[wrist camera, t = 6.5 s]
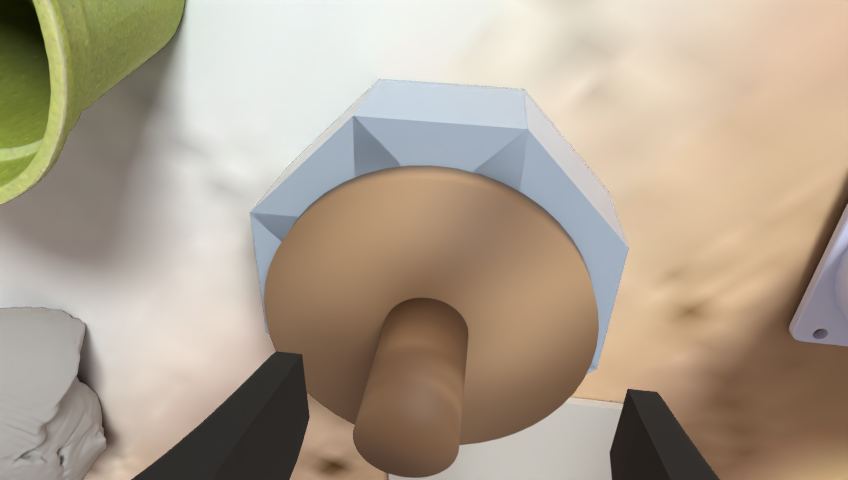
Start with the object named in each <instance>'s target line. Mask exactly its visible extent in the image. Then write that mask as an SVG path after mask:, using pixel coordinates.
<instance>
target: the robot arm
mask: <svg viewBox="0 0 848 480" xmlns="http://www.w3.org/2000/svg"><path fill="white" fill-rule="evenodd" d="M818 329H821V331H819V332H815V331H816V330H818ZM789 331H790V333H791V335H792V336H793V338H794V339H796V340H798V341H801V342H811V343H820V344H830V345H839V346H848V203H847V206H846V208H845V210H844V212H843V214H842V216H841V218H840V220H839V222H838V224H837V227H836V229H835V231H834V233H833V235H832V237H831V239H830V241H829V243H828V246H827V248H826V250H825V252H824V254H823V256H822V258H821V260H820V262H819V265H818V267H817V269H816V271H815V273H814V275H813V277H812V279H811V281H810V283H809V286H808V288H807V290H806V292H805V294H804V296H803V298H802V300H801V302H800V305H799V307H798V309H797V311H796V313H795V315H794V317H793V319H792V321H791V323H790V326H789ZM814 332H815V333H814ZM308 421H309V409H308V400H307V391H306V383H305V374H304V366H303V357H302V354H296V353H287V352H278V351H276V352H275V353H274V354H272V355H271V356H270V357H269V358H268V359H267V360H266V361H265V362H264V363H263V364H262V365H261V366H260V367H259V368H258V369H257V370H256V371H255V372H254V373H253V374H252V375H251V376H250V377H249V378H248V379H247V380H246V381H245V382H244V383H243V384H242V385H241V386H240V387H239V388H238V389H237V390H236V391H235V392H234V393H233V394H232V395H231V396H230V397H229V398H228V399H227V400H226V401H225V402H224V403H222V404H221V405H220V406H219V407H218V408H217V409H216V410H215V411H214V412H213V413H212V414H211V415H210V416H209V417H208V418H206V419H205V420H204V421H203V422H202V423H201V424H200V425H199V426H197V427H196V428H195V429H194V430H193V431H192V432H190V433H189V434H188V435H187V436H186V437H185V438H183V439H182V440H181V441H180V442H179V443H178V444H176V445H175V446H174V447H173V448H172V449H170V450H169V451H168V452H167V453H166V454H164V455H163V456H162V457H161V458H159V459H158V460H157V461H155V462H154V463H153V464H152V465H150V466H149V467H148V468H146V469H145V470H144V471H142V472H141V473H140V474H138V475H137V476H136V477H134V478H133V479H132V480H289V479H290V476H291V474H292V472H293V469H294V467H295V464H296V462H297V459H298V456H299V452H300V449H301V446H302V442H303V439H304V435H305V432H306V428H307V425H308ZM610 464H611V475H612V480H720V479H719V478H718V477H717V475H716V474H715V473H714V471H713V470H712V469H711V467H710V466H709V465H708V463H707V462H706V461H705V459H704V458H703V457H702V455H701V454H700V452H699V451H698V450H697V448H696V447H695V445H694V444H693V443H692V441H691V440H690V438H689V437H688V436H687V434H686V433H685V431H684V430H683V428H682V427H681V425H680V424H679V423H678V421H677V420H676V418H675V417H674V415H673V414H672V412H671V411H670V409H669V408H668V406H667V405H666V403H665V402H664V400H663V399H662V397H661V396H660V395H659V394H658V393H657V392H650V391H641V390H632V389H628V390H627V394H626V397H625V401H624V404H623V408H622V411H621V415H620V418H619V422H618V425H617V429H616V432H615V435H614V439H613V442H612V446H611V449H610Z"/></svg>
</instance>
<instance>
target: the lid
mask: <svg viewBox="0 0 848 480" xmlns="http://www.w3.org/2000/svg"><path fill="white" fill-rule="evenodd" d="M264 309H265V319H266V323H267V327H268V331H269V335H270V337H271V340H272V342H273V345H274V347H275V349H276V351H278V352H287V353H296V354H302V357H303V366H304V374H305V383H306V391H307V392H308V393H309V394H310V395H311V396H312V397H313V398H315V399H316V400H317V401H318V402H319V403H320V404H322V405H323V406H325V407H326V408H328V409H329V410H330V411H332V412H333V413H335V414H336V415H338V416H340V417H342V418H343V419H345V420H347V421H349V422H351V423H352V424H355V427H354V431H353V439H354V443H355V446H356V448H357V450H358V452H359V453H360V454H361V456H362V457H363V458H364V459H365V460H366V461H367V462H369V463H370V464H371V465H373V466H374V467H376V468H378V469H379V470H381V471H384V472H386V473H389V474H392V475H396V476H400V477H407V478H422V477H428V476H433V475H436V474H438V473H441V472H443V471H444V470H446V469H447V468H449V467H450V466H451V465H452V464H453V463H454V461H455V460H456V458H457V455H458V452H459V445H467V444H475V443H482V442H487V441H491V440H496V439H500V438H503V437H506V436H509V435H512V434H515V433H518V432H520V431H522V430H524V429H526V428H529V427H531V426H533V425H535V424H536V423H538V422H539V421H541V420H543V419H544V418H546V417H548V416H549V415H550V414H552V413H553V412H554V411H555V410H557V409H558V408H559V407H560V406H562V405H563V404H564V403H565V402H566V401H567V399H568V398H569V397H570V396H571V395H572V394H573V393H574V392H575V391H576V389H577V388H578V386H579V385H580V384H581V382H582V381H583V379H584V377H585V375H586V374H587V372H588V370H589V368H590V366H591V363H592V360H593V357H594V354H595V351H596V347H597V340H598V332H599V321H598V309H597V304H596V299H595V295H594V290H593V286H592V282H591V277H590V273H589V271H588V268H587V266H586V263H585V261H584V258H583V256H582V254H581V253H580V251H579V249H578V247H577V246H576V244H575V242H574V241H573V239H572V238H571V236H570V235H569V234H568V233H567V231H566V230H565V229H564V228H563V227H562V225H561V224H560V223H559V222H558V221H557V220H556V219H555V218H554V217H553V216H552V215H551V214H550V213H549V212H547V211H546V210H545V209H544V208H543V207H542V206H540V205H539V204H538V203H536V202H535V201H533V200H532V199H531V198H529V197H528V196H526V195H525V194H523V193H521V192H519V191H518V190H516V189H514V188H512V187H510V186H508V185H506V184H504V183H502V182H500V181H497V180H494V179H492V178H489V177H486V176H484V175H481V174H477V173H473V172H469V171H465V170H461V169H457V168H449V167H441V166H433V165H425V166H401V167H393V168H385V169H381V170H377V171H374V172H370V173H366V174H362V175H360V176H358V177H355V178H353V179H350V180H348V181H345V182H343V183H341V184H339V185H338V186H336V187H334V188H333V189H331V190H329V191H327V192H326V193H324V194H323V195H322V196H321V197H319V198H318V199H317V200H316V201H314V202H313V203H312V204H311V205H309V206H308V208H307V209H306V210H305V211H304V212H303V213H302V214H301V215H300V216H299V217H298V219H297V220H296V221H295V223H294V224H293V226H292V227H291V229H290V230H289V232H288V233H287V235H286V236H285V238H284V239H283V241H282V242H281V244H280V245H279V247H278V249H277V250H276V252H275V255H274V257H273V259H272V261H271V264H270V266H269V269H268V273H267V278H266V282H265V290H264Z"/></svg>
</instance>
